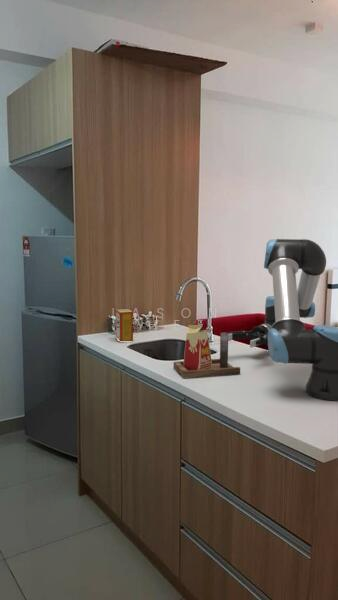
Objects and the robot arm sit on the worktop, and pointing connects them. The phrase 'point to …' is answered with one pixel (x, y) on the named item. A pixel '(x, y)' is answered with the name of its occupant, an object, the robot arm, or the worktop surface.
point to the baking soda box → (124, 325)
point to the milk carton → (197, 349)
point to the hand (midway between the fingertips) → (236, 341)
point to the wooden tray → (218, 365)
